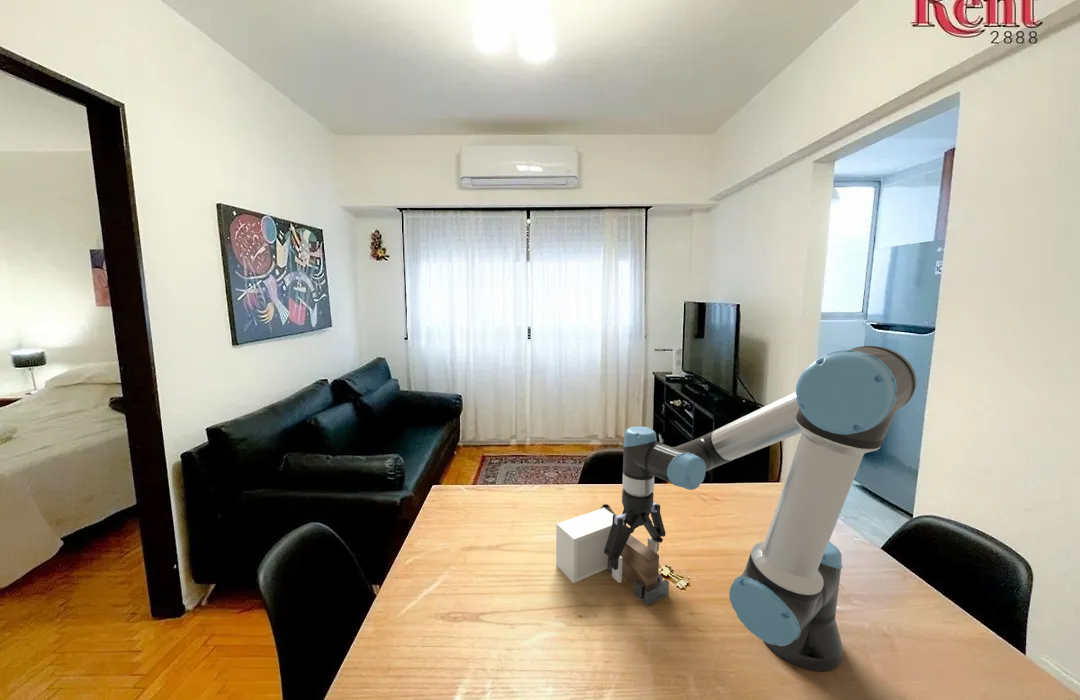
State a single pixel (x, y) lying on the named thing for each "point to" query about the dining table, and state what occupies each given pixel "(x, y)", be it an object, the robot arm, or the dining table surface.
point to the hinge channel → (650, 593)
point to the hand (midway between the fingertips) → (634, 571)
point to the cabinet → (583, 544)
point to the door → (639, 563)
